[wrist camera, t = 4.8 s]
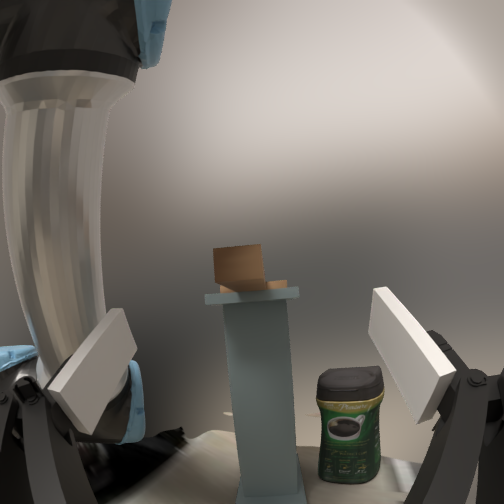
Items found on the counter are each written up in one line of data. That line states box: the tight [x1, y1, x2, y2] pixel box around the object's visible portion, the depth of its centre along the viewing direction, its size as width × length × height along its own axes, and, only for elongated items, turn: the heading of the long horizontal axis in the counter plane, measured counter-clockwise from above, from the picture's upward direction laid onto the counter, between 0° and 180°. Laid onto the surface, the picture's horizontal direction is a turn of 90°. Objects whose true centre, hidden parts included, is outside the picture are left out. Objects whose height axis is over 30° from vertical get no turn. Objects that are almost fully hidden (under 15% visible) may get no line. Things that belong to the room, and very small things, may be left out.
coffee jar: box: [316, 366, 384, 484], centre depth 31 cm, size 10×8×19 cm
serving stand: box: [205, 287, 307, 504], centre depth 31 cm, size 9×16×30 cm, turn 177°
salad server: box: [213, 244, 287, 293], centre depth 29 cm, size 8×26×2 cm, turn 177°
